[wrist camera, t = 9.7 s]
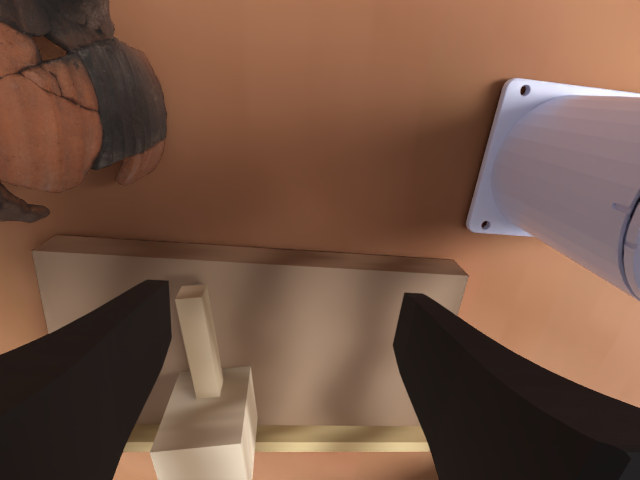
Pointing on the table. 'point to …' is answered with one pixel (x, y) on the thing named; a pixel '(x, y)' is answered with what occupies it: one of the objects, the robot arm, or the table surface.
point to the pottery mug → (72, 102)
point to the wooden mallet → (206, 406)
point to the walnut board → (271, 331)
